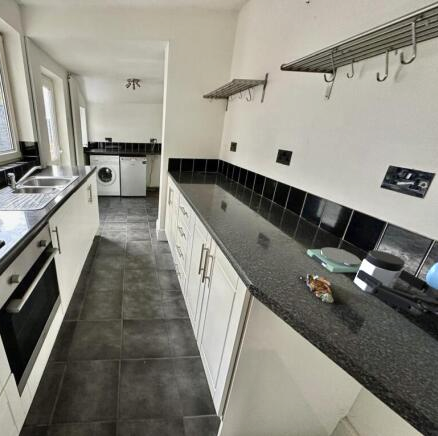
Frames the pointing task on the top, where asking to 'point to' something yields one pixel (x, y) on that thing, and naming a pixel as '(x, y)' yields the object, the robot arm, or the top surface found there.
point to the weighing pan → (340, 256)
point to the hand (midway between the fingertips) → (379, 273)
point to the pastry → (320, 287)
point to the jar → (381, 269)
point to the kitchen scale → (332, 263)
